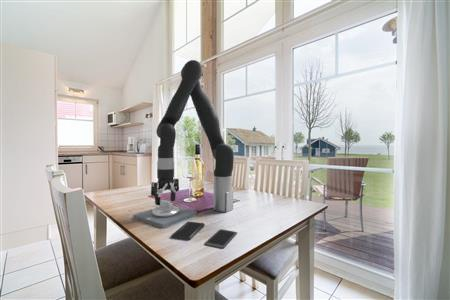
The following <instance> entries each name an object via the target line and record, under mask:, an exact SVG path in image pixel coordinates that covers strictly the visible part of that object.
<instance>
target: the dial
mask: <svg viewBox="0 0 450 300" xmlns="http://www.w3.org/2000/svg"><path fill="white" fill-rule="evenodd" d="M175 206H176V205H174V201H171V200H166V199H160V205H159V206H158V205H156V204H151V207H153V208H152V209H153V210H152V215H153V216H155V217H162V218H163V217H172V216H175V215H177V214H179V208H178V207H179V206H176V207H175Z"/></svg>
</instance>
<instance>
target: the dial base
mask: <svg viewBox="0 0 450 300" xmlns="http://www.w3.org/2000/svg"><path fill="white" fill-rule="evenodd" d="M174 206H175V207H178V208H179V214H177V215H175V216H172V217H163V218H162V217H155V216H153V215H152V210H153V209H154V208H152V209H149V210H145V211H142V212H138V213H135V214H132V218H133V219H134V220H137V221H140V222H143V223H146V224H148V225H152V226H155V227H158V228H161V229H165V228H167V227H171V226H172V225H176V224H177V223H180V222H182V221H185V220H187V219H190V218H192V217H196V216H198V212H197V211H196V210H193V209H188V208H184V207H180V206H176V205H174Z"/></svg>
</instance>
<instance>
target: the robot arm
mask: <svg viewBox="0 0 450 300" xmlns="http://www.w3.org/2000/svg"><path fill="white" fill-rule="evenodd" d="M203 74H204V69H203V65H202V63H200V62H199V61H198V60H196V59H190V60H188V61H186V63H185V64H183V67H182V68H181V71H180V76H181V81H180V83H179V85H178V87H177V89H176V91H175V92H174V94H173V96H172V98H171V100H170V102H169V104H168V106H167V108H166V111H165V113H164V116H163V117H162V119H161V121H160V122H159V123H158V125H157V128H156V136H157V137H158V138H159V145H158V147H157V162H156V163H157V164H156V165H157V166H156V170H157V171H156V178H157V181H155V182H154V181H152V182H151V183H150V184H151V185H150V186H151V187H150V188H151V190H150V196H151V197H154V205H156V206H159V205H160V200H161V196H162V194H163V193H164V191H167V190H168V191H170V201H171V202H175V201H176V193H177V192H179V191H180V183H179V181H180V180H179V179H178V178H175V160H174V159H175V158H174V157H175V156H174V155H175V151H174V150H175V148H174V146H175V144H176V136H177V130H176V128H175V126H176V124H177V123H178V122H179V121H180V119H181V117H182V116H183V112H184V111H185V108H186V106H187V103H188V101H189V98H191V101H192V103H193V106H194V108H195V112H196V114H197V118H198V120H199V123H200V124H201V127H202V129H203V131H204V133H205V135H206V137H207V140H208V143H209V146H210V150H211V153H212V156H213V158H214V159H215V165H214V170H213V210H214V211H215V212H224V213H228V212H230V211H232V210H234V190H232V189H233V188H232V186H233V183H232V182H233V170H234V162H235V161H234V156H235V155H234V150H233V148H232V146H230V145H229V144H227V143H225V140H224V138H223V136H222V134H221V128H220V126H221V125H220V120H219V115H218V113H217V111H216V108H215V105H214V104H213V102H212V100H211V99H210V98H209V96H207V94H206V93H205V91H204V89H203V87H202V84H201V81H200V79H201V78H202V76H203Z"/></svg>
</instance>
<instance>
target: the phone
mask: <svg viewBox="0 0 450 300" xmlns="http://www.w3.org/2000/svg"><path fill="white" fill-rule="evenodd" d="M204 227H206V226H205V223H203V222H197V221H187V222H186V223H184V224H183V225H182V226H180V227H179V228H178V229H177V230H175V231H174V232H173V233H172V234H170V235H171V236H170V238H171V239H173V240H174V239H175V240H181V241H187V242H188V241H191V240H193V238H194V237H196V235H197V234H199V232H201V231H202V229H203V228H204Z"/></svg>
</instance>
